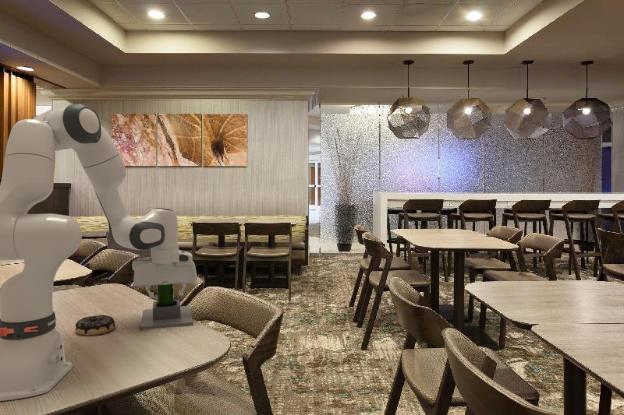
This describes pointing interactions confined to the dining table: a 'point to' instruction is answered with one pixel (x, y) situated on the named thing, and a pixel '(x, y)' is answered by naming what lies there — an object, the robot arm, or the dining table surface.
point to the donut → (95, 325)
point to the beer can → (165, 294)
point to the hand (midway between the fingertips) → (166, 297)
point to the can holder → (166, 316)
